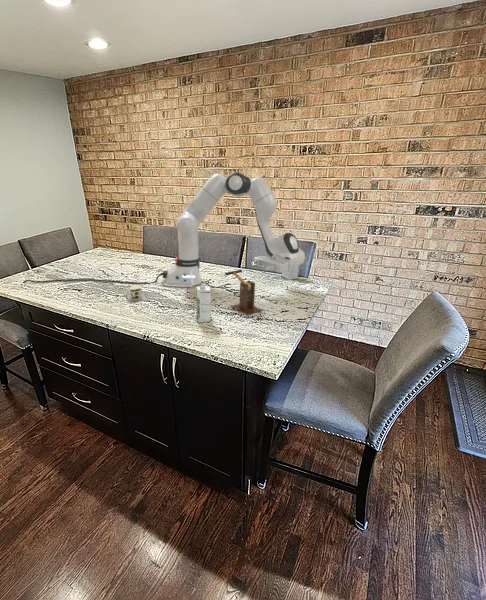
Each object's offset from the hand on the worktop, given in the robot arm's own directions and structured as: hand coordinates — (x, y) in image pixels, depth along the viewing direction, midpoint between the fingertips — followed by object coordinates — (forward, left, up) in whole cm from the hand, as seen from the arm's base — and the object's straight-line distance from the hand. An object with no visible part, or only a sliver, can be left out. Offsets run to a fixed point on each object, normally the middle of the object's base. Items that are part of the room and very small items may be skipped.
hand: (258, 266), depth 164 cm
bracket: (-8, -16, -17) cm, 24 cm away
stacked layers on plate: (-61, +5, -17) cm, 63 cm away
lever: (-10, -12, -4) cm, 16 cm away
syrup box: (-28, -24, -17) cm, 41 cm away
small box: (+26, +33, -17) cm, 45 cm away
